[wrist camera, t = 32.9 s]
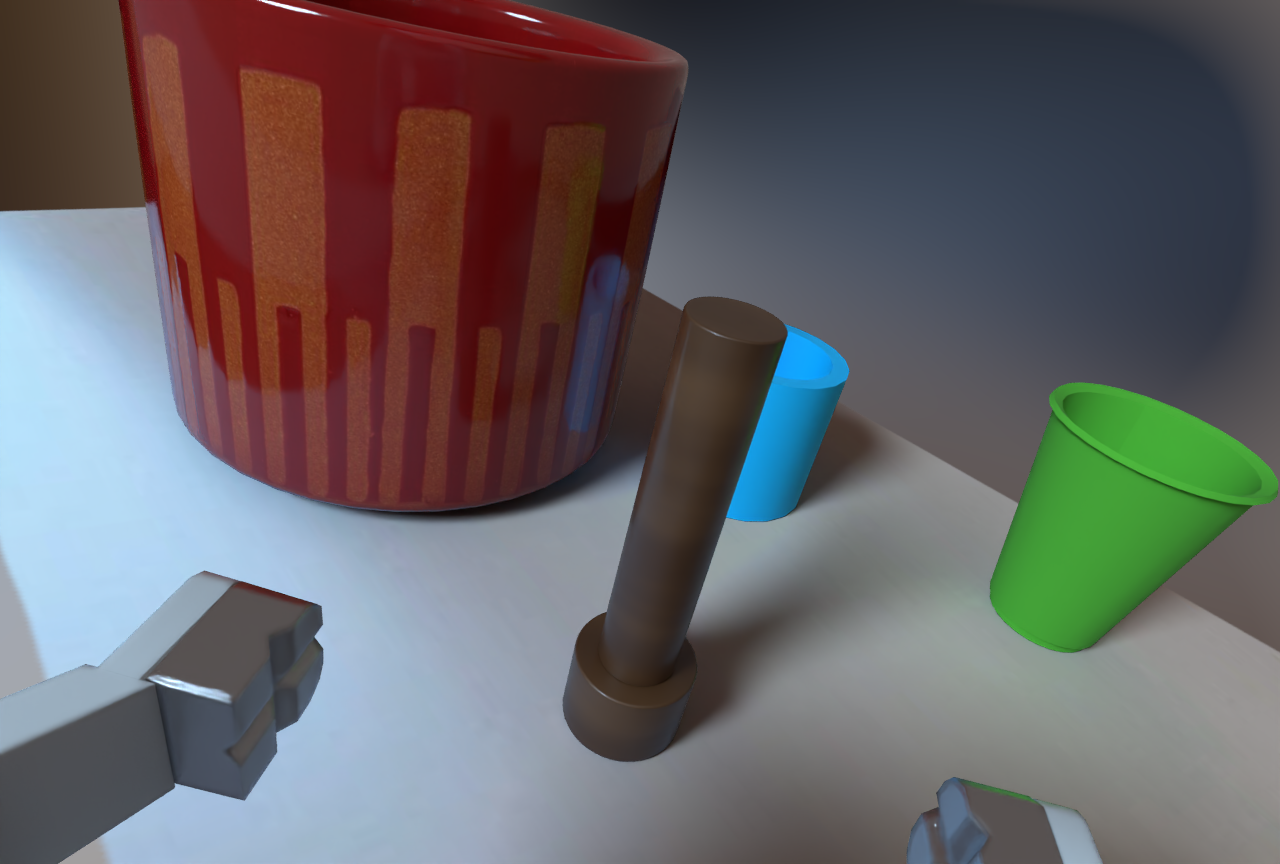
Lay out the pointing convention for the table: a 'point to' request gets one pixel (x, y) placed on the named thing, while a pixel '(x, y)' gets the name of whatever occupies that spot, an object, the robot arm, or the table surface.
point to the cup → (1115, 511)
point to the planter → (398, 235)
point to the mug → (789, 428)
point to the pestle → (673, 532)
